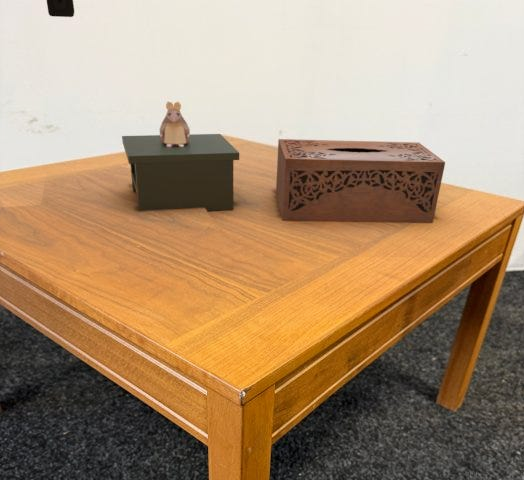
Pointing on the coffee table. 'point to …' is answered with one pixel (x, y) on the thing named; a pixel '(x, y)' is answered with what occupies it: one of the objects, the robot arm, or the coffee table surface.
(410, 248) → the coffee table surface
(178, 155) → the dark green lidded box
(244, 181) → the coffee table surface
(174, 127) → the mouse figurine
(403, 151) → the tissue box cover
